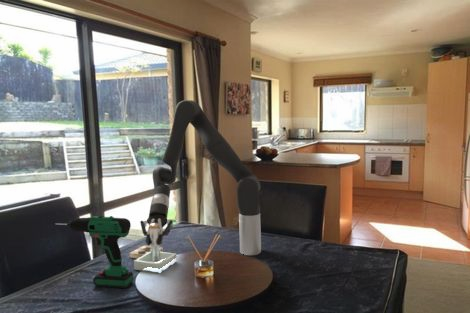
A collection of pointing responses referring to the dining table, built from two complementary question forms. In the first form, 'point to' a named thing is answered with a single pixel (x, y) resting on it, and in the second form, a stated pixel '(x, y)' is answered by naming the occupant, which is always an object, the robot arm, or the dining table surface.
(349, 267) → the dining table surface
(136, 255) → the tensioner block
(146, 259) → the tray
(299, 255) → the dining table surface
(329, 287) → the dining table surface
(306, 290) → the dining table surface
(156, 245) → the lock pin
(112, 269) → the power drill
